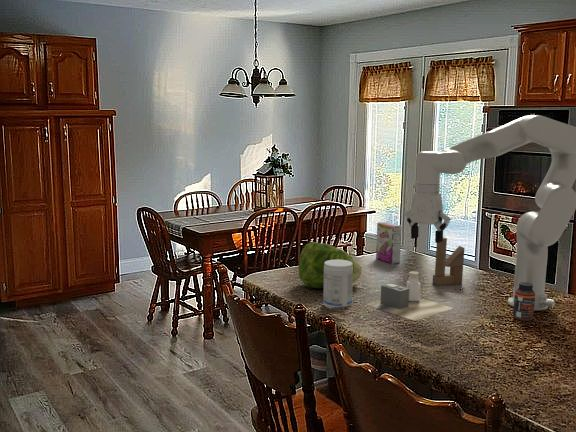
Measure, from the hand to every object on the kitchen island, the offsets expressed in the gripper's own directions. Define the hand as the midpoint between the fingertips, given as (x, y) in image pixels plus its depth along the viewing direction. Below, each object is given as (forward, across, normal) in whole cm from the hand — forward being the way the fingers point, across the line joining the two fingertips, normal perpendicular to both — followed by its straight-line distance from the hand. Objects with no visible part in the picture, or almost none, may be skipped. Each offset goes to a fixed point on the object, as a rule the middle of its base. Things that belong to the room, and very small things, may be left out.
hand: (426, 240), depth 194 cm
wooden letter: (+22, -9, +25) cm, 35 cm away
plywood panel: (+21, +2, -11) cm, 24 cm away
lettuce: (+21, -33, -12) cm, 41 cm away
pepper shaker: (+20, -2, -5) cm, 21 cm away
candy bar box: (+22, -46, +36) cm, 62 cm away
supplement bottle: (+23, +29, +11) cm, 38 cm away
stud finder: (+20, -2, -14) cm, 24 cm away
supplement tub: (+21, -15, -27) cm, 37 cm away
